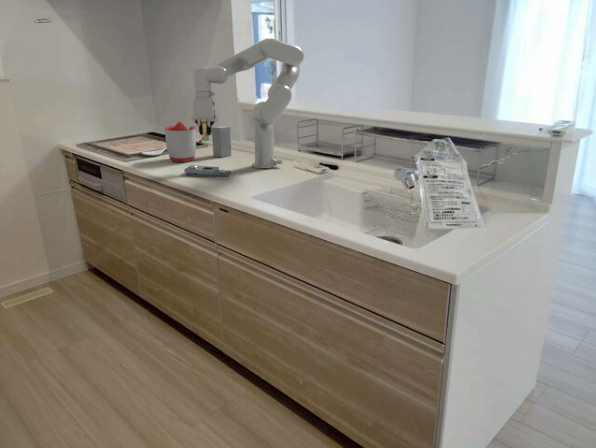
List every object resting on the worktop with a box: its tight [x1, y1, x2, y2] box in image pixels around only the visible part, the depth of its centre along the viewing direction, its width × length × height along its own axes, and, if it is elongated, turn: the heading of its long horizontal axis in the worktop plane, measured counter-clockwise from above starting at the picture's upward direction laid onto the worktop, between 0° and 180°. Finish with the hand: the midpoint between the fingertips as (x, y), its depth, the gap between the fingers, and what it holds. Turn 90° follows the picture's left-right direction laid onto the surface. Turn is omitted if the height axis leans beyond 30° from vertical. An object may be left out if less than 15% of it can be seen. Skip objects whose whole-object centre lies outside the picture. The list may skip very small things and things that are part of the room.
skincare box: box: [211, 125, 232, 158], centre depth 265 cm, size 8×7×16 cm
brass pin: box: [200, 120, 210, 142], centre depth 231 cm, size 4×4×10 cm
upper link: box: [183, 164, 220, 177], centre depth 228 cm, size 14×8×4 cm, turn 81°
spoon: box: [141, 146, 167, 157], centre depth 272 cm, size 9×32×4 cm, turn 138°
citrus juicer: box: [164, 121, 197, 163], centre depth 253 cm, size 16×17×20 cm
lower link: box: [196, 169, 232, 178], centre depth 228 cm, size 14×8×2 cm, turn 81°
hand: (205, 134), depth 232 cm, fingers closed on brass pin, 3 cm apart
